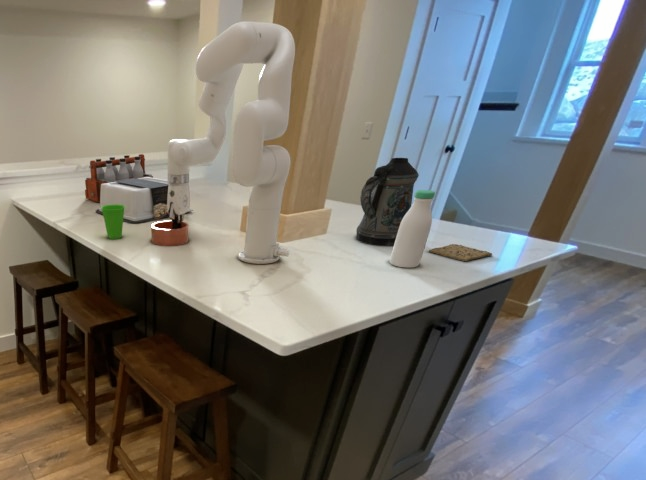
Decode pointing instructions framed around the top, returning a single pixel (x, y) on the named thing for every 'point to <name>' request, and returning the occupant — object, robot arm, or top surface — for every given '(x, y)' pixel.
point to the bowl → (169, 233)
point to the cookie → (460, 252)
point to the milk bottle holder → (113, 173)
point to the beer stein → (386, 202)
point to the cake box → (137, 198)
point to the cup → (113, 220)
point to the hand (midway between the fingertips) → (177, 232)
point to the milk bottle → (413, 231)
